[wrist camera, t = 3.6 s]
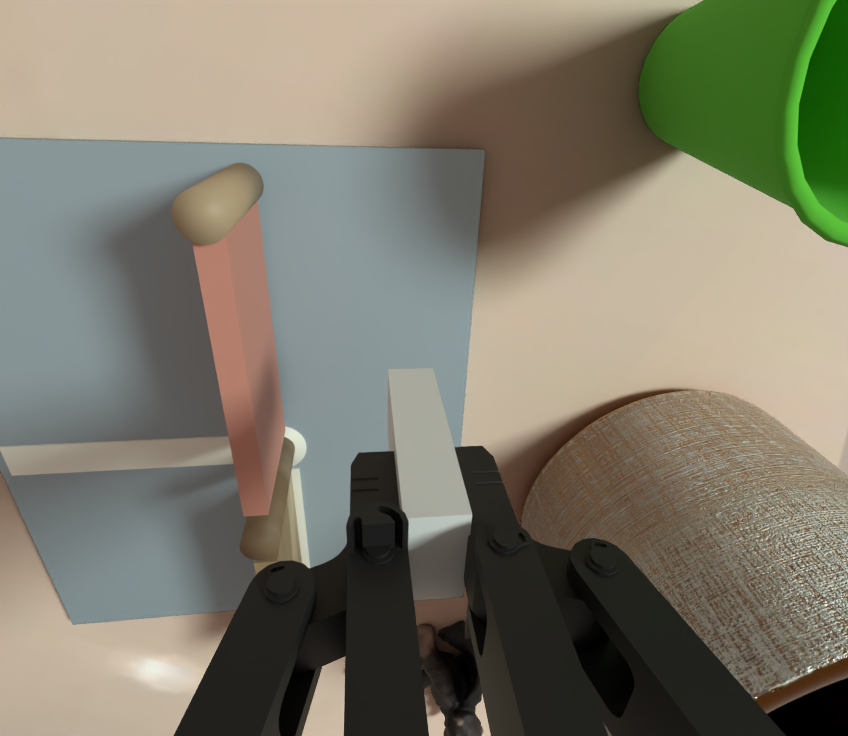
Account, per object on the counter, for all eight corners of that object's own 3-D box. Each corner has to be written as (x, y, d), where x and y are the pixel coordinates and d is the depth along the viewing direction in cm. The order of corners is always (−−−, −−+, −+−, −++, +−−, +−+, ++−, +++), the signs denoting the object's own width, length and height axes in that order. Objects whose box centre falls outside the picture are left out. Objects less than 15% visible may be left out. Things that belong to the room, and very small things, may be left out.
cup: (651, -96, 18) (974, -302, 9) (838, -10, 21) (1262, -101, 11) (558, 158, 22) (714, 205, 13) (724, 209, 24) (963, 282, 15)
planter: (474, 569, 35) (554, 876, 21) (594, 348, 27) (836, 599, 14) (679, 598, 39) (853, 865, 26) (828, 416, 32) (1183, 653, 18)
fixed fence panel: (288, 597, 34) (273, 718, 27) (264, 429, 27) (236, 535, 21) (313, 595, 34) (303, 715, 27) (295, 427, 27) (276, 532, 21)
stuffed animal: (345, 647, 36) (506, 729, 30) (411, 548, 43) (549, 599, 38) (363, 735, 41) (502, 817, 36) (419, 633, 49) (540, 689, 44)
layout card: (77, 616, 32) (72, 626, 31) (-144, 133, 19) (-161, 135, 18) (447, 584, 35) (448, 592, 34) (482, 149, 22) (485, 150, 21)
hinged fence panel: (291, 430, 26) (274, 521, 20) (259, 431, 26) (233, 524, 20) (261, 163, 20) (225, 189, 14) (219, 162, 20) (166, 188, 14)
